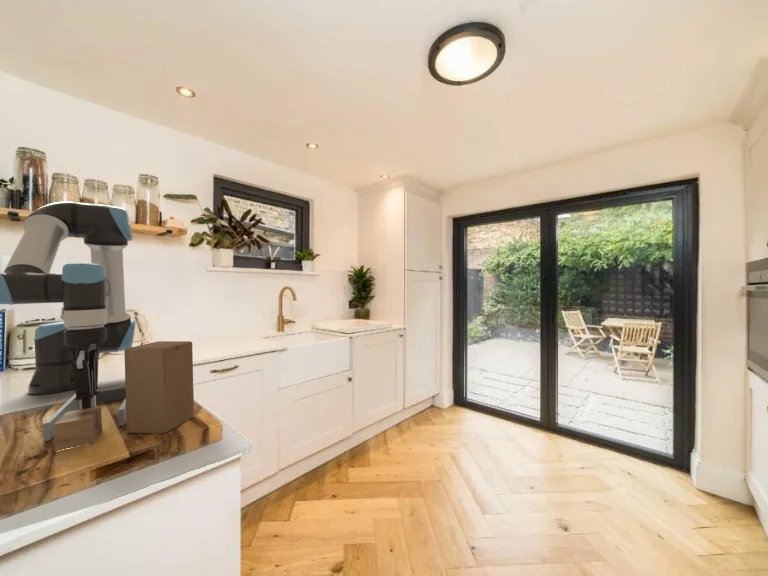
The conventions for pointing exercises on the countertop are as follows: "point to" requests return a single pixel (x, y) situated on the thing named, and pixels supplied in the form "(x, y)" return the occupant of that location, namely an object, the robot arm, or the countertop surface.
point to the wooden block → (158, 386)
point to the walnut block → (78, 428)
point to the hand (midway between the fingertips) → (88, 423)
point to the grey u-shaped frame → (73, 405)
